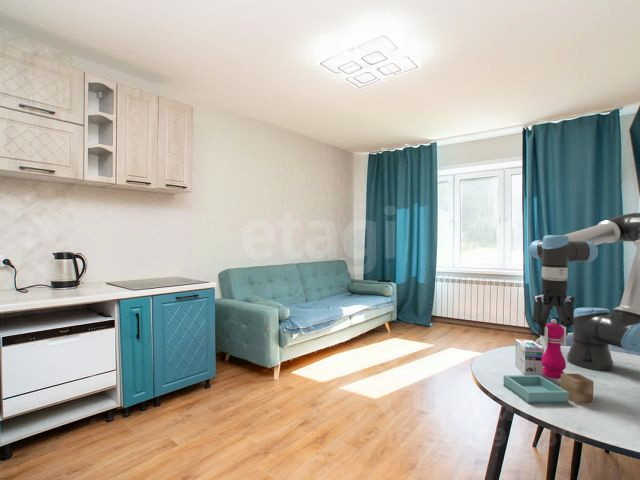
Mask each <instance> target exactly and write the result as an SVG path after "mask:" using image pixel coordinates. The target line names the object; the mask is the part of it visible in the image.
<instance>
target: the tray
mask: <svg viewBox="0 0 640 480" xmlns="http://www.w3.org/2000/svg"><path fill="white" fill-rule="evenodd" d="M502 385H503V387H505V388H506V389H508V390H509V391H511V392H512V393H513V394H514V395H515V396H517V397H519V398H520V399H521V400H523V401H524V402H525V403H527V404H528V405H535V404H536V405H543V404H544V405H545V404H546V405H552V404H553V405H554V404H556V405H558V404H565V405H566V404H569V403H570V402H569V401H570V400H569V392H567V391H566V390H564V389H562V388H561V387H560V386H559V385H557V384H556V383H554V382H553V381H550V380H548V379H547V378H545V377H544V376H543V377H542V376H540V375H524V374H523V375H520V374H519V375H518V374H517V375H516V374H515V375H514V374H513V375H508V374H507V375H503V384H502Z"/></svg>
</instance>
